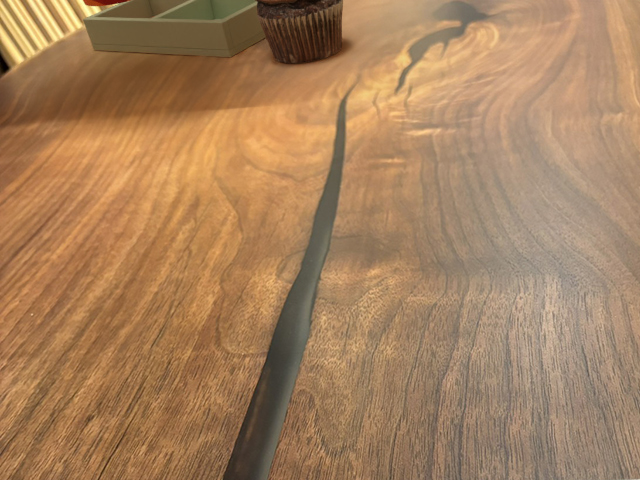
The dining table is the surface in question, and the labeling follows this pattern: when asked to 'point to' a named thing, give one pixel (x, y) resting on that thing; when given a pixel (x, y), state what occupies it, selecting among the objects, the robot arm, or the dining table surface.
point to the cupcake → (301, 28)
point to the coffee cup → (103, 2)
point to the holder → (177, 27)
